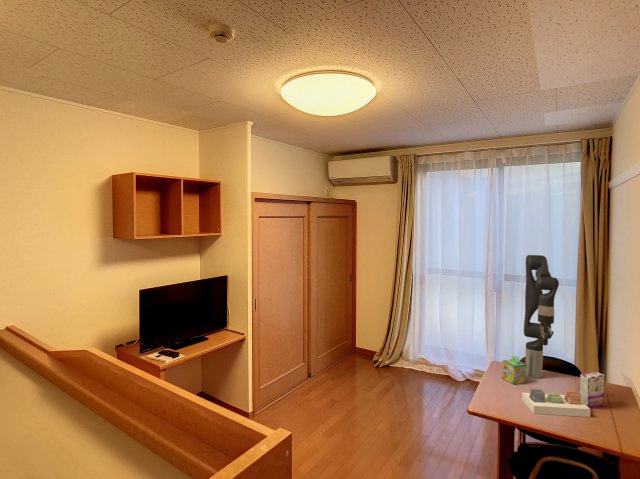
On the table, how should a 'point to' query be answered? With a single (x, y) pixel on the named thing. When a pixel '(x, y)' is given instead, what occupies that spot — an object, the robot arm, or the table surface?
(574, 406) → the board
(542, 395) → the slate block
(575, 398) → the terracotta block
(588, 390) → the candy bar box
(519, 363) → the chalk box
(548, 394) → the sage block
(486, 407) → the table surface
